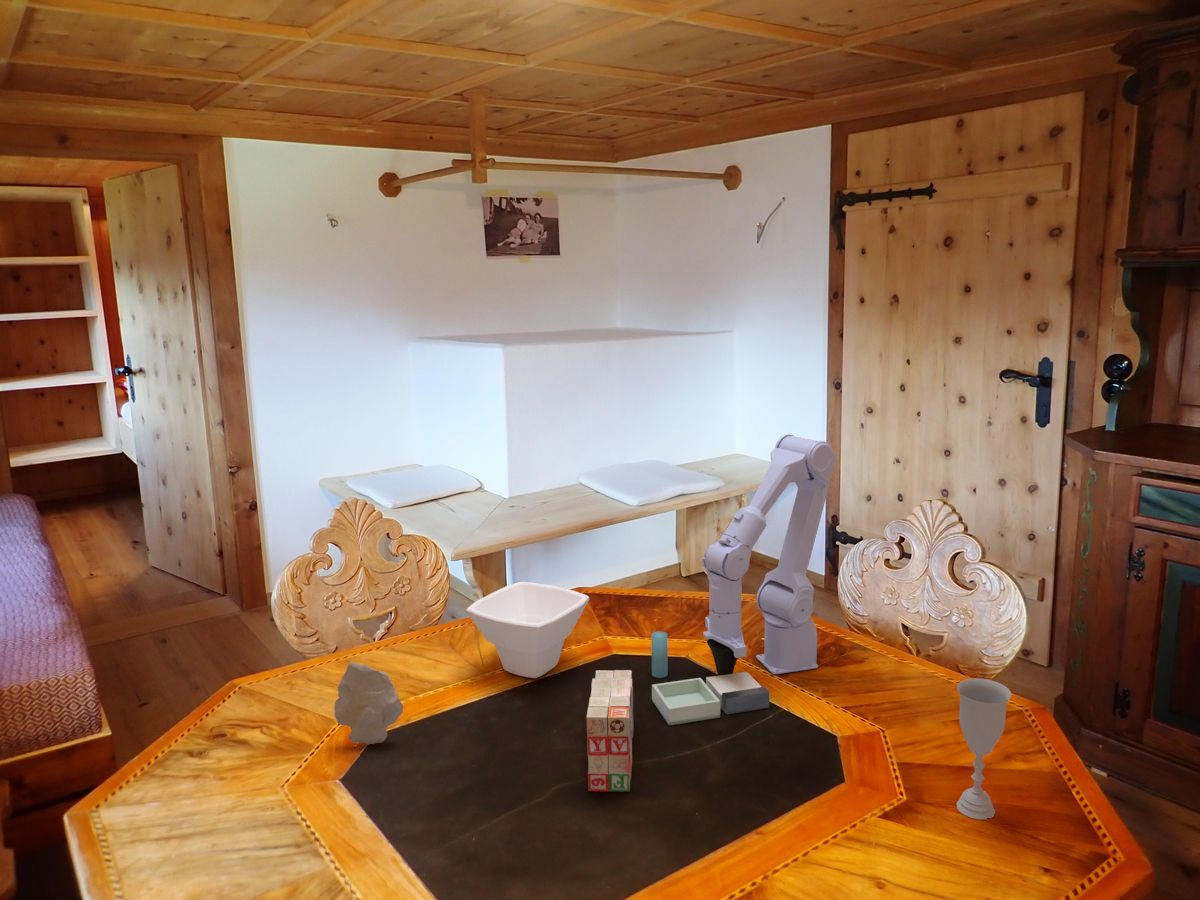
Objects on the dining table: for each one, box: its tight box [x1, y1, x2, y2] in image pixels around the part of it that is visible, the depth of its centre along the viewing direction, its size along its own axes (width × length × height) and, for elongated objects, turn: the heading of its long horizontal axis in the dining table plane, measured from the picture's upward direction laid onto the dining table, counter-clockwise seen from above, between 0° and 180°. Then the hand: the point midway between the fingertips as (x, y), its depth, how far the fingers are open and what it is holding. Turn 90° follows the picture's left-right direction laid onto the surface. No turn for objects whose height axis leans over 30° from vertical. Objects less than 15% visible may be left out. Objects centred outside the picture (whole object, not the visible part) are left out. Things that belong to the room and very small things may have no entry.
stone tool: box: [333, 661, 404, 746], centre depth 144 cm, size 11×4×15 cm, turn 95°
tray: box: [651, 677, 721, 726], centre depth 155 cm, size 9×9×3 cm
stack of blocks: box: [586, 669, 634, 792], centre depth 140 cm, size 21×6×12 cm, turn 176°
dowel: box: [650, 630, 669, 679], centre depth 167 cm, size 3×3×8 cm
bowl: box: [465, 581, 590, 679], centre depth 170 cm, size 19×19×14 cm
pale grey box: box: [705, 671, 762, 710], centre depth 159 cm, size 8×7×3 cm
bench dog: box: [721, 686, 771, 715], centre depth 154 cm, size 8×2×3 cm, turn 105°
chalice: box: [956, 677, 1012, 820], centre depth 123 cm, size 7×7×18 cm
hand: (724, 678), depth 163 cm, fingers closed
